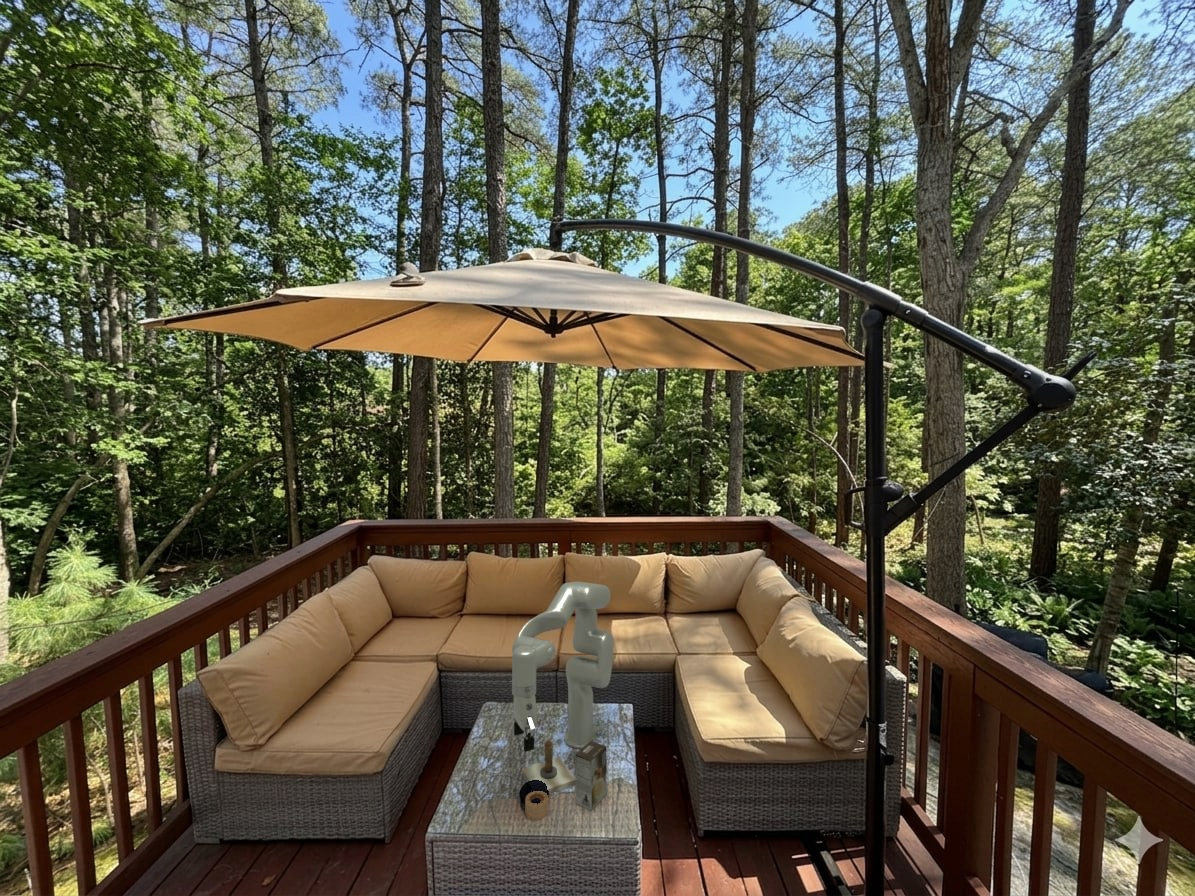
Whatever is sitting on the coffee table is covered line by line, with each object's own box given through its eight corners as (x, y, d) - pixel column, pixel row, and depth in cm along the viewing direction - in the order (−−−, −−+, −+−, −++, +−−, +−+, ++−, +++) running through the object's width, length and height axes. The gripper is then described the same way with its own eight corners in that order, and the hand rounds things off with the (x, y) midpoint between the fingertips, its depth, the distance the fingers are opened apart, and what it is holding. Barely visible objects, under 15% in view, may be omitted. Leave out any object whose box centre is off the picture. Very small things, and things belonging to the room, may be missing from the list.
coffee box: (590, 787, 172) (590, 739, 172) (607, 794, 169) (607, 745, 168) (574, 803, 164) (575, 753, 164) (591, 811, 161) (592, 760, 161)
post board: (559, 762, 185) (559, 725, 185) (576, 785, 173) (576, 746, 173) (521, 774, 179) (521, 735, 178) (536, 799, 166) (537, 758, 166)
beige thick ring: (543, 800, 166) (543, 788, 166) (551, 814, 160) (551, 801, 160) (522, 807, 162) (522, 795, 162) (530, 822, 156) (530, 809, 156)
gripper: (545, 697, 157) (544, 753, 157) (526, 674, 172) (526, 725, 172) (521, 702, 153) (520, 760, 153) (504, 678, 169) (504, 731, 169)
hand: (523, 741), depth 163 cm, fingers open, 9 cm apart
